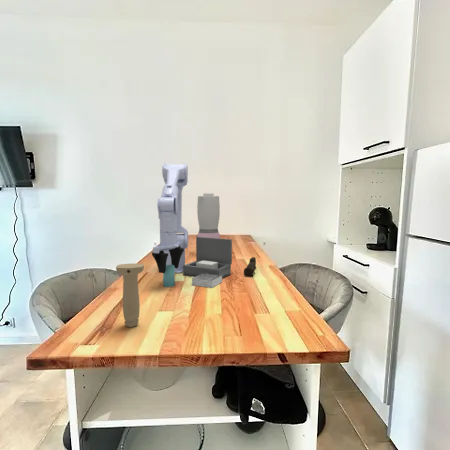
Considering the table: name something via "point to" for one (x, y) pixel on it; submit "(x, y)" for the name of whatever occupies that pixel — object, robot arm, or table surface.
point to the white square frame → (207, 280)
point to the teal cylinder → (169, 276)
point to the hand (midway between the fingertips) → (168, 270)
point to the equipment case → (211, 257)
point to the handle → (130, 292)
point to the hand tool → (250, 268)
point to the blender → (208, 215)
